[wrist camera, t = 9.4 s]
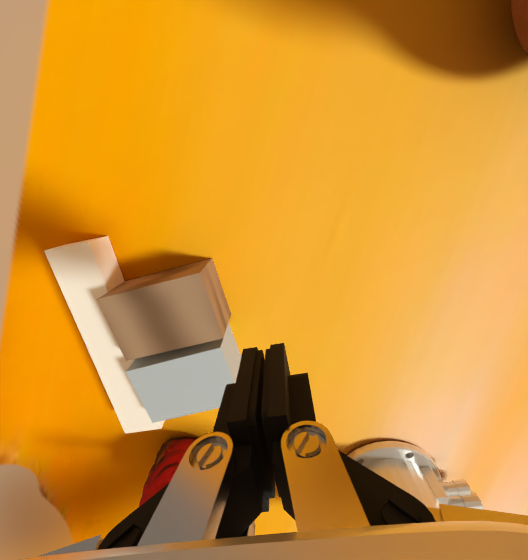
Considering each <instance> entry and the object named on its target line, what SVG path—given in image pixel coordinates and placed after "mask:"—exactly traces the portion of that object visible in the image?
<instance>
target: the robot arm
mask: <svg viewBox="0 0 528 560" xmlns="http://www.w3.org/2000/svg"><path fill="white" fill-rule="evenodd" d="M275 481H276V486H277V490H278V494H279V497H281V499H282V504H283V508H284V510H285V511H286V512H287V513H288V514H289V515H290V516H291V517H292V518H293V519H295V520H296V525H297V530H298V532H292V533H280V534H268V535H256V536H254V534H255V523H254V520H255V519H256V518H257V517H258V516H259V515H260V513H261V512H268V511H269V498H274V497H275ZM22 560H528V516H526V515H518V514H511V513H504V512H497V511H489V510H483V506H482V503H481V501H480V499H479V497H478V496H477V494H476V493H475V492H473V491H471V490H470V487H469V485H468V483H467V482H466V481H465V480H456V481H452V482H443V481H442V480H441V476H440V472H439V470H438V468H437V466H436V464H435V462H434V461H433V460H432V458H431V457H430V456H429V455H428V454H427V453H426V452H425V451H424V450H422V449H420V448H419V447H417V446H414V445H411V444H409V443H404V442H399V441H382V442H375V443H371V444H368V445H365V446H362V447H360V448H358V449H356V450H354V451H353V452H351V453H350V454H348V455H345V454H344V453H342V452H340V451H339V450H338V449H337V447H336V445H335V442H334V440H333V438H332V435H331V433H330V432H329V430H328V429H327V428H326V427H325V426H324V425H322V424H320V423H318V422H316V419H315V413H314V407H313V402H312V396H311V390H310V384H309V379H308V373H303V374H296V375H290V371H289V366H288V361H287V356H286V351H285V346H284V343H281V344H274V345H271V346H270V349H266V354H265V359H264V354H263V351H262V350H258V349H257V347H255V348H248V349H243V352H242V357H241V361H240V366H239V370H238V374H237V379H236V383H232V384H227V385H226V387H225V390H224V394H223V397H222V401H221V405H220V408H219V412H218V416H217V419H216V423H215V426H214V430H213V432H212V433H208V434H205V435H203V436H201V437H200V438H198V439H196V440H195V441H194V442H193V443H192V444H191V445H190V446H189V448H188V449H187V451H186V453H185V455H184V456H183V458H182V460H181V462H180V464H179V466H178V468H177V470H176V472H175V474H174V476H173V478H172V480H171V481H170V482H169V483H168V484H167V485H166V486H164V487H163V488H162V489H161V490H160V491H158V492H157V493H156V494H155V495H153V496H152V497H151V498H150V499H148V500H147V501H146V502H145V503H143V504H142V505H141V506H140V507H139V508H137V509H136V510H135V511H134V512H132V513H131V514H130V515H129V516H127V517H126V518H125V519H124V520H123V521H121V522H120V523H119V524H118V525H116V526H115V527H114V528H113V529H112V530H111V531H110V532H109V533H108V534H107V536H106V537H105V538H104V539H102V537H101V535H99V536H96V537H93V538H90V539H87V540H84V541H81V542H78V543H75V544H72V545H70V546H67V547H64V548H61V549H58V550H55V551H52V552H49V553H46V554H43V555H40V556H38V557H34V558H27V559H22Z"/></svg>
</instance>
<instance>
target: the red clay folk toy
mask: <svg viewBox="0 0 528 560" xmlns="http://www.w3.org/2000/svg"><path fill="white" fill-rule="evenodd" d="M195 440H196V439H193V438H181V439H170V440H169V441H167V442H165V443H164V444H163V445H162V447H161V449H160V451H159V452H158V453H157V458H156V461H155V464H154V465H153V467H152V468H151V470H150V473H149V476H148V479H147V481H146V483H145V485H144V489H143V494H142V498H141V501H140V505H139V507H140V506H141V505H142V504H143V503H145V502H146V501H147V500H148V499H150V498H151V497H152V496H153V495H155V494H156V493H157V492H158V491H160V490H161V489H162V488H163V487H164V486H166V485H167V484H168V483H169V482H170V481H171V480H172V478H173V476H174V474H175V472H176V470H177V468H178V466H179V464H180V462H181V460H182V458H183V456H184V455H185V453H186V451H187V449H188V448H189V446H190V445H191V444H192V443H193V442H194V441H195Z"/></svg>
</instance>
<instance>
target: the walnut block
mask: <svg viewBox="0 0 528 560" xmlns="http://www.w3.org/2000/svg"><path fill="white" fill-rule="evenodd" d="M96 300H97V302H98V305H99V307H100V309H101V311H102V313H103V315H104V317H105V319H106V321H107V323H108V325H109V327H110V329H111V331H112V333H113V335H114V337H115V339H116V341H117V343H118V346H119V348H120V350H121V352H122V354H123V356H124V358H125V360H126V361H128V360H132V359H137V358H141V357H145V356H149V355H154V354H158V353H162V352H167V351H171V350H175V349H180V348H184V347H188V346H193V345H197V344H201V343H206V342H210V341H214V340H219V339H223V337H224V334H225V331H226V328H227V325H228V322H229V319H230V316H231V313H230V310H229V307H228V304H227V301H226V298H225V295H224V292H223V289H222V286H221V283H220V280H219V277H218V274H217V271H216V268H215V265H214V262H213V259H212V258H211V259H207V260H203V261H199V262H196V263H192V264H188V265H184V266H180V267H177V268H173V269H169V270H165V271H161V272H158V273H154V274H150V275H146V276H143V277H139V278H135V279H131V280H127V281H125V282H123V283H121V284H120V285H118V286H117V287H115V288H114V289H112V290H110V291H109V292H107V293H106V294H104V295H103V296H101V297H100V298H98V299H96Z"/></svg>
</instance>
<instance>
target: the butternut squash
mask: <svg viewBox="0 0 528 560" xmlns="http://www.w3.org/2000/svg"><path fill="white" fill-rule="evenodd" d="M511 14H512V18H513V23H514V28H515V32H516V35H517V38H518V40H519V42H520V44H521V46H522V48H523V49H524V50H525V52H526V53H527V54H528V0H511Z"/></svg>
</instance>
